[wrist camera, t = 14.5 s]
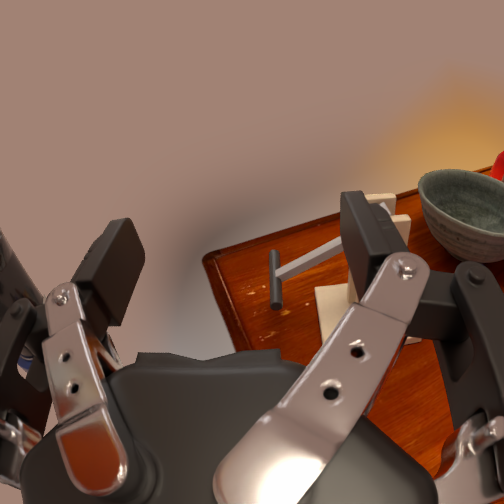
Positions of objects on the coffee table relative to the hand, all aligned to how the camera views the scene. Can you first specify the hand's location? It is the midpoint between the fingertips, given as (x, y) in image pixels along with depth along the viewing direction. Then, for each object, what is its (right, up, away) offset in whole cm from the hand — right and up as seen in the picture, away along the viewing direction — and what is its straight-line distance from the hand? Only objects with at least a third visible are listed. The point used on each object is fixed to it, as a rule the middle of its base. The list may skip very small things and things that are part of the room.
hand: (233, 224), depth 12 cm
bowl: (+36, 0, +31) cm, 48 cm away
